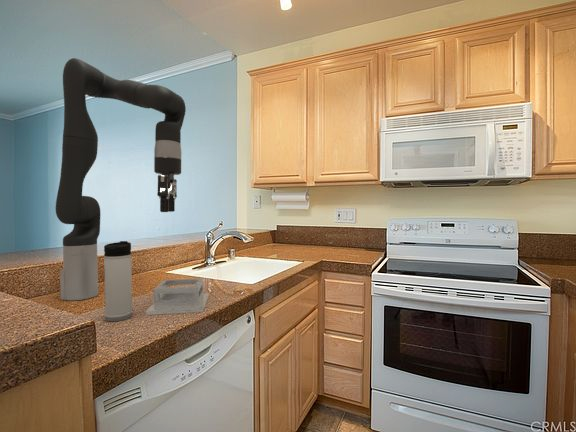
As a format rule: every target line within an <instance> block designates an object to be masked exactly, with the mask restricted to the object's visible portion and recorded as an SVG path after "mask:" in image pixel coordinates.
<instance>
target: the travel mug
mask: <svg viewBox="0 0 576 432" xmlns="http://www.w3.org/2000/svg"><path fill="white" fill-rule="evenodd" d="M103 251H104V252H103V253H104V254H103V255H104V256H103V258H104V259H103V264H104V265H103V266H104V267H103V268H104V269H103V270H104V271H103V272H104V320H105V321H107V322H112V323H113V322H121V321H125V320H128V319H129V318H131V317H132V316H133V278H132V277H133V276H132V275H133V273H132V270H133V269H132V243H131V242H128V240H120V241H118V242H111V243H108V244H105V245H104V247H103Z"/></svg>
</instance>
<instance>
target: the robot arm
mask: <svg viewBox="0 0 576 432" xmlns="http://www.w3.org/2000/svg"><path fill="white" fill-rule="evenodd" d="M62 71H63V72H62V88H63V89H62V90H63V101H64V102H63V105H64V107H63V108H64V109H63V110H64V112H63V130H62V131H63V133H62V147H61V150H62V151H61V152H62V153H61V154H62V155H61V166H60V167H61V168H60V177H59V184H58V190H57V194H56V200H55V215H56V217H57V219H58V221H59V222H60V223H62V224H65V225H73V229H72V230H71V231H70V232H69V233H68V234H66V235H64V236H63V238H62V260H63V261H62V262H63V263H62V265H63V266H62V269H60V271H59V280H60V281H59V283H60V284H59V286H60V287H59V288H60V300H62V301H63V300H64V301H79V300H80V301H82V300H87V299H92V298H94V297H97V296H98V295H99V277H98V275H99V272H98V271H99V270H98V269H99V268H98V239H99V236H100V232H101V206H100V203H99V202H98V200H97V199H95V198H94V197H92V196H89V195H83V187H84V181H85V179H86V176H87V174H88V173H89V172H90V170H91V168H92V167H93V165H94V163H95V161H96V159H97V156H98V147H99V137H98V132H97V130H96V128H95V125H94V123H93V121H92V119H91V117H90V114H89V111H88V109H87V103H86V96H88V97H91V98H99V99H100V98H101V99H111V100H117V101H120V102H123V103H127V104H129V105H132V106H136V107H140V108H143V109H147V110H148V109H152V110H155V111H158V112H160V113H161V114H164V119H163V120H162V121H161V120H160V121H158V122H157V123H156V124H155V133H154V134H155V135H154V136H155V137H154V139H155V142H154V150H153V151H154V155H153V157H154V159H153V161H154V162H153V163H154V165H153V166H154V167H153V172H154V173H155V174H158V175H157V193H156V194H157V197H158V198H159V199H160V200H159V207H160V208H159V210H160V213H171V212H172V213H173V212H175V209H176V207H175V206H176V204H175V203H176V198H177V197H178V195H177V194H178V193H177V188H178V187H177V183H178V182H177V178H176V179H175V176H176V175H177V176H178V175H179V176H180V175H181V174H182V146H181V145H182V144H181V140H182V139H181V138H182V137H181V136H182V135H181V129H182V127H183V124H184V119H185V115H186V103H185V100H184V99H183V97H181V96H180V95H179V94H177V93H176V92H174V91H173V90H171V89H169V88H167V87H165V86H162V85H158V84H147V83H144V82H140V81H136V80H132V79H122V80H119V79H116V78H114V77H111V76H110V75H108V74H106V73H104V72H103V71H101V70H100V69H98V68H97V67H95V66H93V65H91V64H89V63H88V62H87V61H84V60H82V59H80V58H77V57H76V58H75V57H74V58H70V59H68V60H67V61H66V62H65V64H64V67H63V70H62Z"/></svg>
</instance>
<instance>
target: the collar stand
mask: <svg viewBox="0 0 576 432" xmlns="http://www.w3.org/2000/svg"><path fill="white" fill-rule="evenodd" d="M183 285H185V286H183ZM186 285H187V286H186ZM188 285H189V286H188ZM190 285H192V286H190ZM193 285H194V286H193ZM171 286H172V287H171ZM209 297H210V293H206V292H205V293H204V278H201V277H200V278H182V279H181V278H180V279H179V278H177V279H176V278H175V279H163V280H162V281H161V282H160V283H159V284H158V285H156V286H155V287H154V288H153V303H152V304H151V305H150V306H149V307H148V308H147V310H146V311H145V316H154V315H173V314H175V315H176V314H190V313H203V312H204V310H205V308H206V305H207V302H208V300H209Z"/></svg>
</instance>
